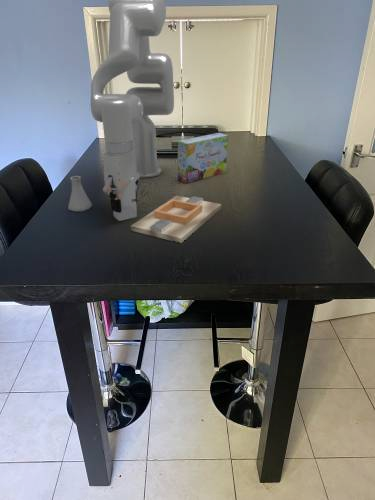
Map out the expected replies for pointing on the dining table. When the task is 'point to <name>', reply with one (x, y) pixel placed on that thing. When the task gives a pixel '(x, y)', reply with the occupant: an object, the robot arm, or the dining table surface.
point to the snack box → (202, 157)
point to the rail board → (176, 218)
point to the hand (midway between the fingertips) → (124, 206)
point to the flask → (78, 196)
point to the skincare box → (127, 202)
